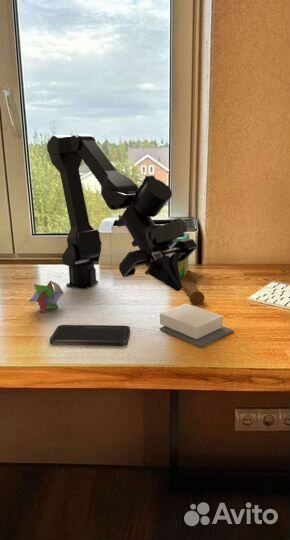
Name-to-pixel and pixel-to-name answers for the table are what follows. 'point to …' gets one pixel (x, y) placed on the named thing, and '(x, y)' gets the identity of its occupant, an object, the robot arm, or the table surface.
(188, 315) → the cream flat block
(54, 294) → the geometric puzzle
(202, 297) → the primitive tool
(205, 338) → the mat
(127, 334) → the phone
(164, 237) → the robot arm
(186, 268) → the chalk box
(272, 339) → the table surface
